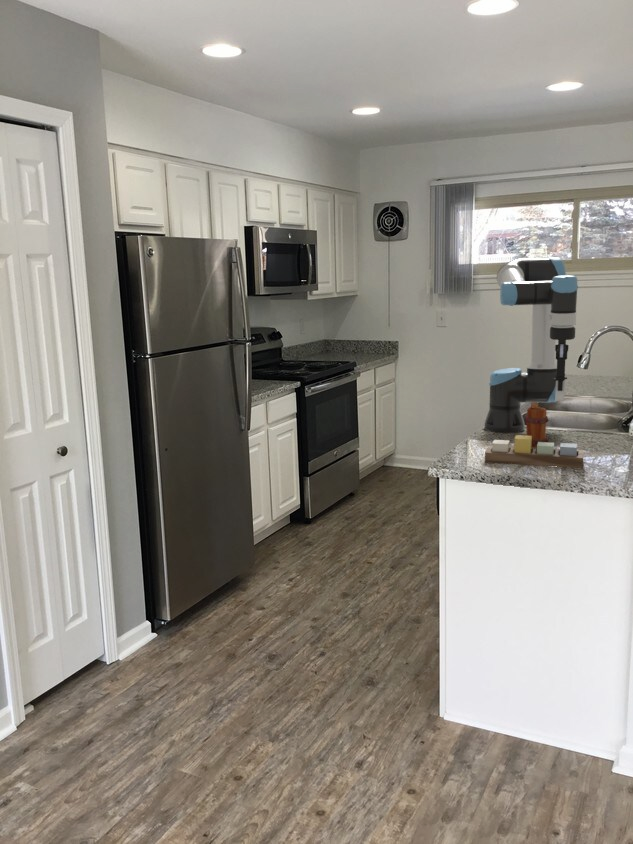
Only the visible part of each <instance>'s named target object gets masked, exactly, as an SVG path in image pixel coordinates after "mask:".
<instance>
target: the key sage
mask: <svg viewBox="0 0 633 844" xmlns="http://www.w3.org/2000/svg"><path fill="white" fill-rule="evenodd" d="M554 448H555V442H549V441H548V442H538V444H537V454H550V455H554Z"/></svg>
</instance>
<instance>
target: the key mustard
mask: <svg viewBox="0 0 633 844" xmlns="http://www.w3.org/2000/svg"><path fill="white" fill-rule="evenodd" d="M525 435H526V434H524V435H523V434H522V435H520V434H516V435H515V436H514V445H513V446H514V453H531V448H532V436H525Z"/></svg>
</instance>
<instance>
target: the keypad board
mask: <svg viewBox="0 0 633 844" xmlns="http://www.w3.org/2000/svg"><path fill="white" fill-rule="evenodd" d="M484 463H485V464H495V463H497V465H513V466H528V467H529V466H531V467H545V466H547V467H548V466H557V467H556V468H561V467H570V468H569V469H578V468H580V469H581V470H582V469H584V449H577V456H568V455H560V448H556V447H554V455H550V454H537V448H536V447H532V448H531V453H514V445H512V446H511V445H510V447H509V452H495V451H492V444H488V445H487V447H486V450H485V452H484ZM547 467H546V468H547ZM548 468H549V467H548Z"/></svg>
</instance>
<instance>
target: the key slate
mask: <svg viewBox="0 0 633 844" xmlns="http://www.w3.org/2000/svg"><path fill="white" fill-rule="evenodd" d="M559 449H560V455H568V456H577V450H578V443H570V442H569V443H567V442H566V443H564V442H560V446H559Z"/></svg>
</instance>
